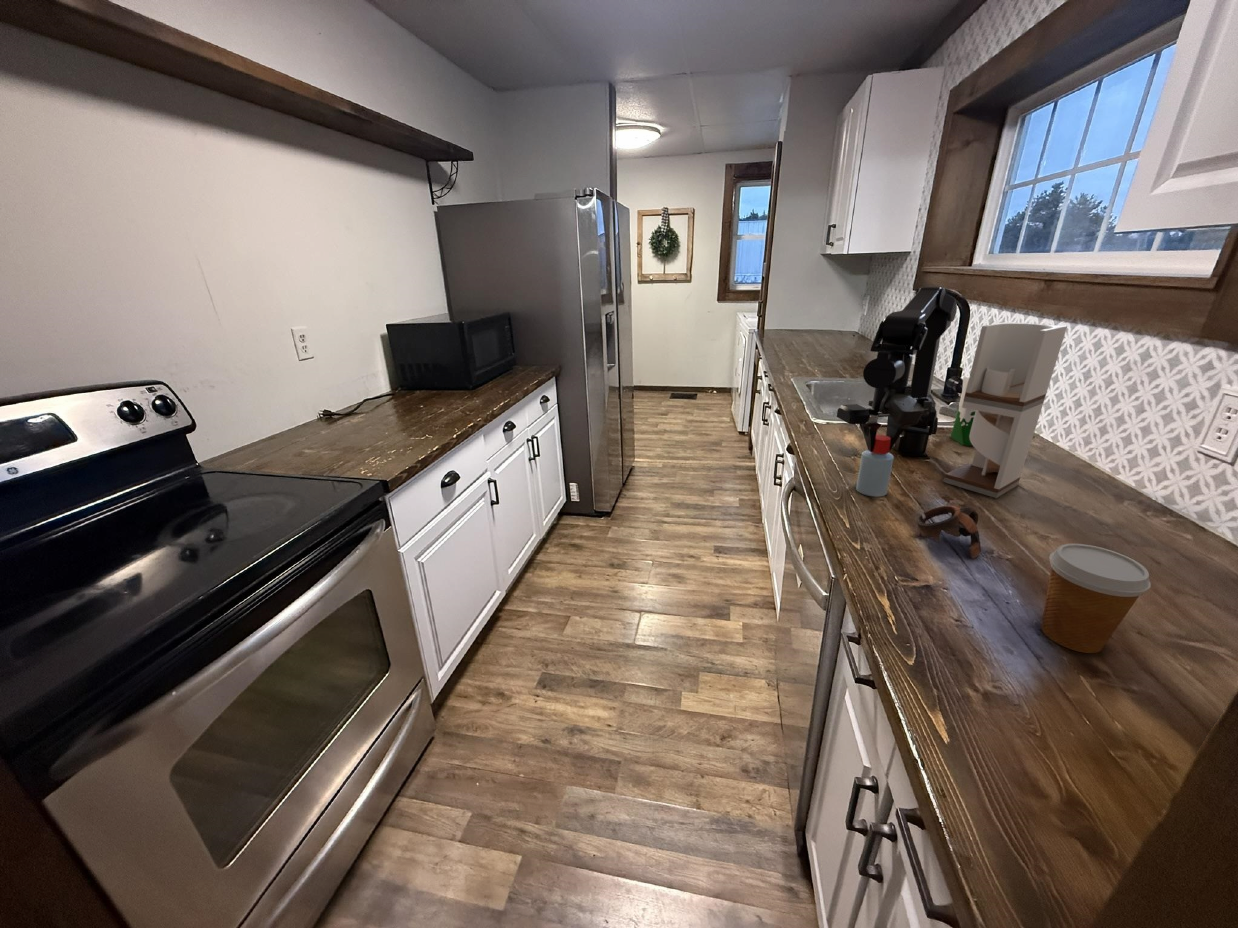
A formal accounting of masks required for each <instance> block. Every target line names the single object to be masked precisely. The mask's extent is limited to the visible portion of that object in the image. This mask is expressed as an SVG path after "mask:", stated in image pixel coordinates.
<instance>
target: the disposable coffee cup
mask: <svg viewBox="0 0 1238 928" xmlns="http://www.w3.org/2000/svg"><path fill="white" fill-rule="evenodd" d="M1048 559H1049V564H1050V571H1049V573H1050V574H1049V578H1048V584H1047V590H1046V595H1045V596H1046V597H1045V602H1044V607H1043V613H1042V621H1041V625H1040V628H1041V632H1043V634H1044V635H1045V636H1046V637H1047V638H1048V639H1050V640H1051V641H1052V642H1054V643H1056V644H1058V645H1059V646H1062V647H1063V648H1066V649H1069V650H1072V651H1074V652H1078V653H1084V654H1097V653H1100V652H1101V651H1102V650H1103V648H1104V647H1105V645H1106V644H1107V643H1108V641H1110V638H1112V635H1113V634H1114V632H1116V630H1117V628H1118V627H1119V625H1120V624H1121V623H1122V621H1123V620H1124V618H1125V617H1126V615H1127V614H1128V613H1129V611H1130V610H1131V609H1132V607H1133V606H1134V604H1135V603H1136V602H1137V600H1138V599H1139V598H1140V596H1141V595H1143V594H1144V593H1146V592H1148V591H1149V590H1150V588H1151V587H1152V583H1151V581H1150V572H1149V571H1148V569H1147V568H1146V567H1145V565H1144V566H1143V565H1142V564H1141V563H1140V562H1139V561H1137V560H1135V559H1133V558H1130V557H1129V556H1127V555H1124V554H1121V553H1119V552H1117V551H1114V550H1111V549H1108V548H1105V547H1100V546H1095V545H1090V544H1083V543H1066V544H1061V545H1060V546H1058V547H1057V548H1056V550H1055V551H1052V552H1051V553H1050V554H1049V557H1048Z"/></svg>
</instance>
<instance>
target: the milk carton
mask: <svg viewBox="0 0 1238 928" xmlns="http://www.w3.org/2000/svg"><path fill="white" fill-rule="evenodd" d="M969 377H970V375H963V376H962V378H963V379H962V389H961V396H960V399H959V403H958V408H957V412H956V415H955V420H954V423H953V427H952V430H951V433H950V436H949V438H950V439H952V440H954V441H956V442H957V443H959V444H960V445H962V446H973V445H972V444H971V442H970V439H969V435H970V431H971V427H972V423H973V419H974V416H975V412H976V410H972V409H967V408H962V405H963V401H964V397H965V393H966V389H967V385H968V381H969ZM973 447H974V446H973Z"/></svg>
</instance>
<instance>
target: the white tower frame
mask: <svg viewBox="0 0 1238 928" xmlns="http://www.w3.org/2000/svg"><path fill="white" fill-rule="evenodd" d="M1067 328H1068V325H1059V324H1058V325H1056V324H1042V323H1041V324H1040V323H1027V322H1025V323H1024V322H1013V321H1012V322H1009V321H1004V322H997V323H992V324H987V325H982V326H981V328H980V333H979V337H978V341H977V345H976V349H975V352H974V356H973V361H972V365H971V368H970V373H969V376H970V377H969V381H968V385H967V389H966V393H965V397H964V401H963V405H962V408H967V409H972V410H976V412H975V416H974V419H973V423H972V427H971V431H970V435H969V439H970V442H971V444H972V445H973V448H974V449H975V451H974V456H973V459H972V463H971V462H967V463H964V464H963V465H961V466H958V467H956V468H954V469H952V470H950V471H948V472H946V473H945V474H944V478H943V481H942V482H943V483H945V484H948V485H952V486H954V487H959V488H962V489H965V490H968V491H971V492H975V493H978V494H981V495H984V496H988V497H991V498H995V499H998V498H999V497H1000V496H1002V495H1004V494H1006V493H1007V492H1009V491H1011V490H1012V489H1014V488H1016V487H1017V486H1019V482H1020V481H1021V480H1020V479H1021V476H1022V473H1023V470H1024V467H1025V464H1026V460H1027V457H1028V454H1029V450H1030V447H1031V444H1032V441H1033V438H1034V435H1035V431H1036V428H1037V425H1038V422H1039V420H1040V415H1041V412H1042V409H1043V405H1044V403H1045V399H1046V396H1047V393H1048V389H1049V386H1050V383H1051V380H1052V376H1053V374H1054V371H1055V367H1056V364H1057V361H1058V359H1059V355H1060V352H1061V348H1062V346H1063V345H1062V344H1063V342H1064V338H1065V335H1066V332H1067Z"/></svg>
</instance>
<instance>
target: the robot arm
mask: <svg viewBox="0 0 1238 928" xmlns="http://www.w3.org/2000/svg"><path fill="white" fill-rule="evenodd" d="M957 308H958V305H957V300H956V298H955V297H954V296H951V295H950V294H948V293H947V292H946V289H945V288H944V287H941V286H921V287H918V288H917V289H916V291H915V294H914V296H912V298H911V299H910V301H909V302H908V303H907V304H906V305H905V306H904V307H903V308H902V310H898V311H893V312H891V313H889V314H888V315H886V316H885V318H884V319H883V320H881V322H880V323H879V326H878V328H877V331H876V333H875V336H874V339H873V341H872V344H871V347H870V352H874V353H877V355H876V357H875V358H873V359H871V360H870V361H868V363H866V365H865V367H864V368H863V372H862V377H863V380H864V382H865V383H866V384H867V385H868V386H869V387H871V388H873V389H874V392H873V398H872V400H869V401H868V404H867V405H868V406H869V407H870V408H866V407H864V406H862V405H860V404H858V403H851V404H850V403H849V404H841V405H840V406H839V407H838V408H837V411H836V418H838V419H840V420H841V421H843V422H845V423H847V424H849V425H859V427H860V430H861V432H862V434H863V438H864V441H865V444H866V448H867V450H869V451H870V452H873V449H874V445H875V439H876V435H877V433H878V430H879V429H880V428H881V426H882V424H881V423H879V418H884V417H885V418H887V420H886V433H885V436H888V437H890V438H891V444H890V449H889V452H890V451H891V450H892V449H894V450H895V451H896V452H897V453H899V455H901V456H903V457H928V456H929V454H928V453H927V452H926V451H927V448H928V442H929V438H930V436H932V435H936V434H937V431H938V425H939V418H938V412H937V409H936V405H937V403H936V401H935V399H934V397H933V396H932V394H931V392H932V386H933V382H934V381H933V380H934V375H935V370H936V369H935V368H936V364H937V360H938V359H937V358H938V353H939V347H940V341H941V337H942V336H943V335H944V333H946V331H947V330H948V329H949V328H950V327H951V324H952V323H953V322H954V320H955V318H956V315H957V310H958V309H957ZM913 356H915V358H914V357H913ZM913 358H914V364H913ZM912 364H913V370H912V377H911V382H910V385H908V383H909V379H910V373H911V368H912Z"/></svg>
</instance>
